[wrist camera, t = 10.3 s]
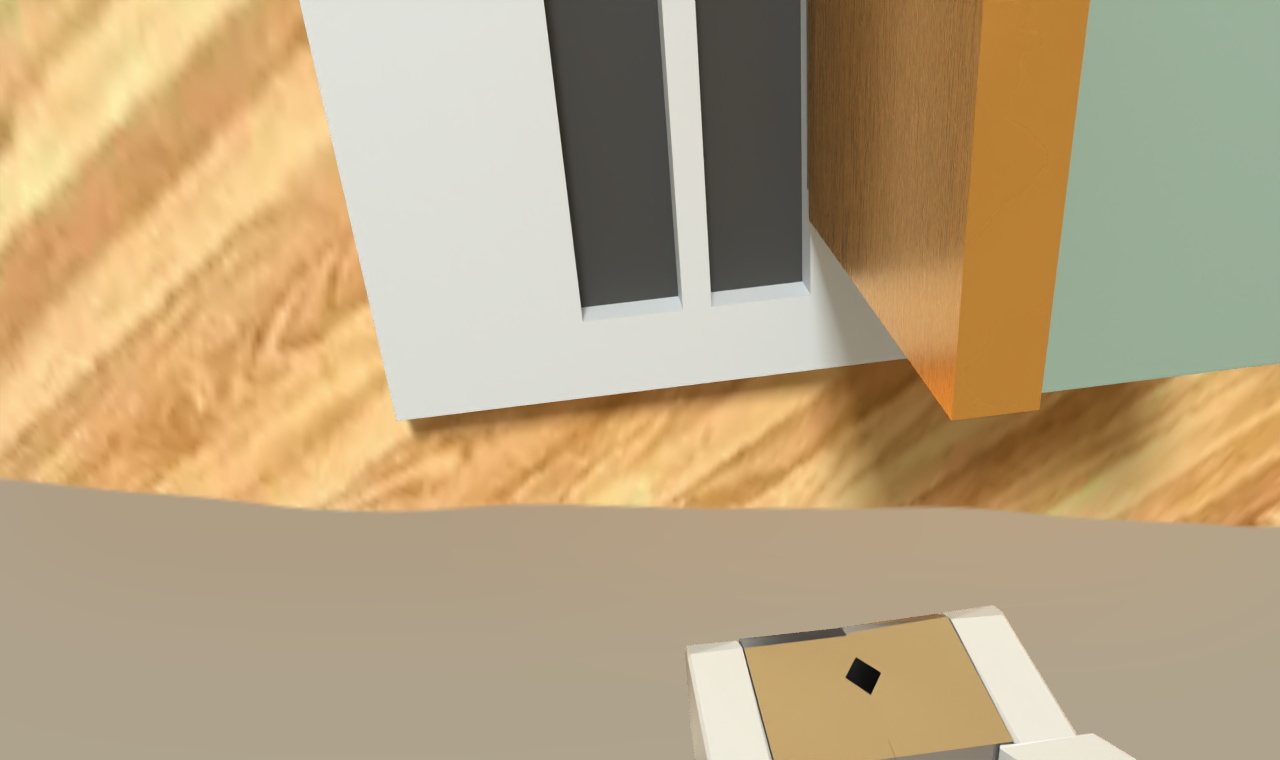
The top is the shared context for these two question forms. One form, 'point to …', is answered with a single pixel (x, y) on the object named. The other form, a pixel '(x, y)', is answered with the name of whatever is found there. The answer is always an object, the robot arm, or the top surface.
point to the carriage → (948, 178)
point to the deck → (582, 196)
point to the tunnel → (1171, 196)
